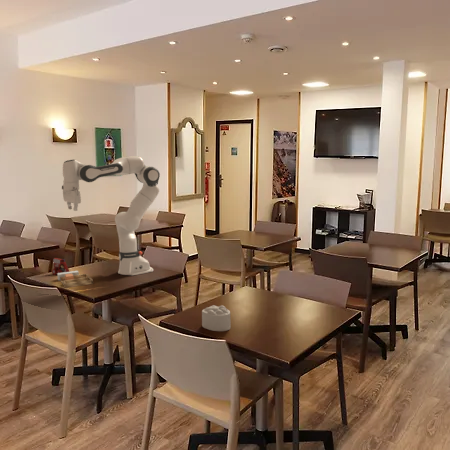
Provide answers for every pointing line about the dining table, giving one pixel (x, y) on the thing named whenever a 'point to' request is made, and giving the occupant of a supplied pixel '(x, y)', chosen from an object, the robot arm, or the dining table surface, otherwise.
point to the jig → (77, 280)
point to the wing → (69, 276)
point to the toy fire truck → (59, 266)
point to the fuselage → (66, 273)
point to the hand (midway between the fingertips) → (72, 209)
